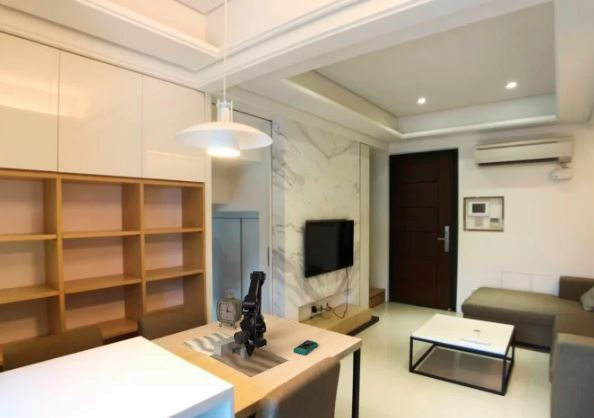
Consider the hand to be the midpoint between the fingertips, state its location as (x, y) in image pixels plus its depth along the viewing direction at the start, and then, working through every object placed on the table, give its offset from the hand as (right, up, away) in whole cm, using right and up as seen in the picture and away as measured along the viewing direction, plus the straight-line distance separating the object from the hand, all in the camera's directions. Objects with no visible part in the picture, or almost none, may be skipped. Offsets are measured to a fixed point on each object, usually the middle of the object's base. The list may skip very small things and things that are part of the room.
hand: (249, 356), depth 171 cm
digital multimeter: (+28, -3, +15) cm, 32 cm away
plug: (-8, -1, +7) cm, 11 cm away
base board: (-10, -2, +9) cm, 14 cm away
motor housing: (-9, -2, +9) cm, 13 cm away
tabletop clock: (-19, -2, +49) cm, 52 cm away
